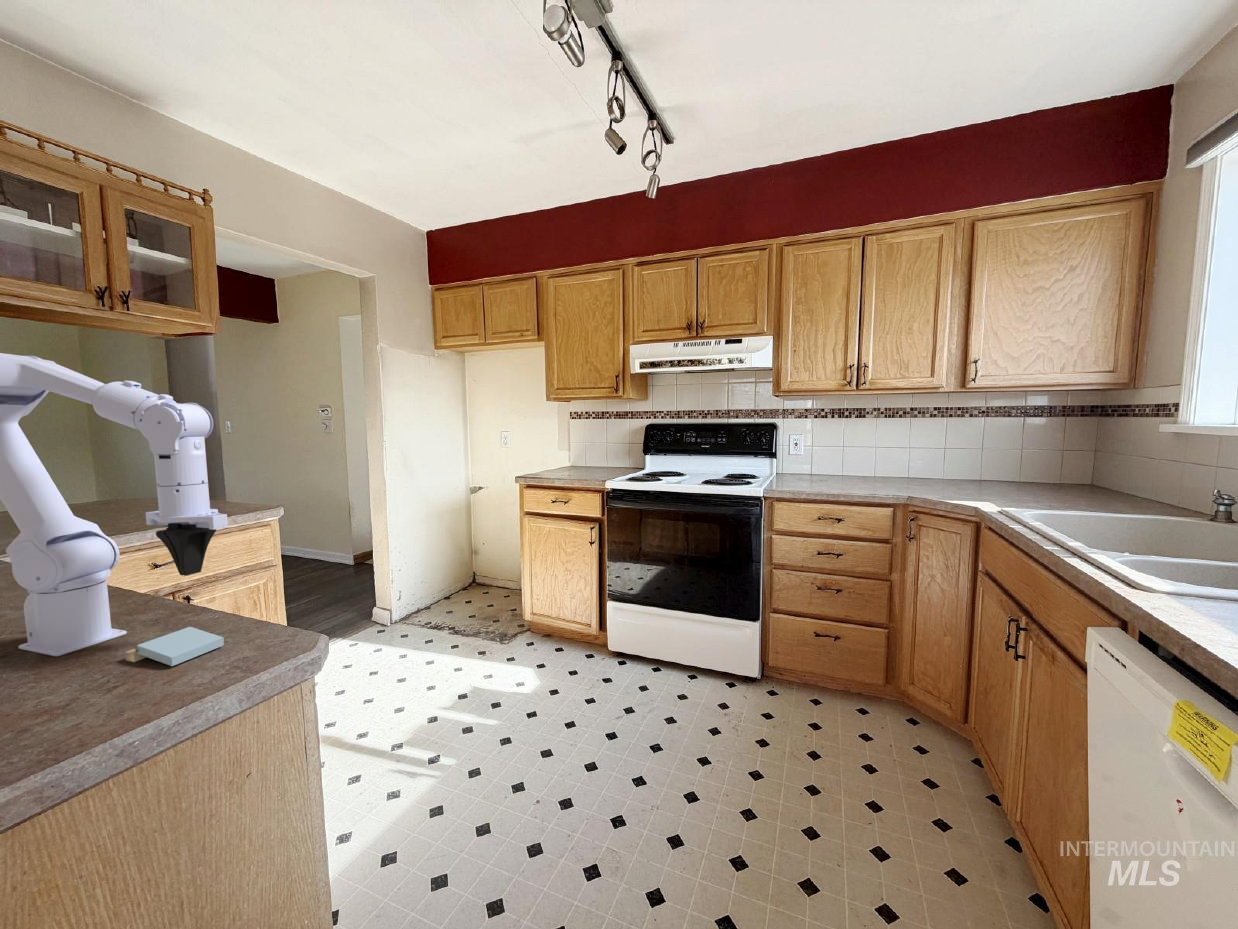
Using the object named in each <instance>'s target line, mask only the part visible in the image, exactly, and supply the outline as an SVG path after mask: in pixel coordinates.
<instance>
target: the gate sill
mask: <svg viewBox="0 0 1238 929" xmlns="http://www.w3.org/2000/svg"><path fill="white" fill-rule="evenodd" d="M124 656H125V661H127V662H132V663H136V662H138V661H141V660H143V659H146V658H148V657H145V656H142V655H140V654H137V652H136V651H135V648H133V649H130V650H127V651H125V652H124Z"/></svg>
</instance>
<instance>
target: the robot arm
mask: <svg viewBox="0 0 1238 929" xmlns="http://www.w3.org/2000/svg"><path fill="white" fill-rule="evenodd" d="M49 392H51V393H54V394H57V395H61V396H64V397H67V398H70V399H73V400H76V401H79V402H83V403H86V404H89V405H92V407H93V411H94V412H95V413H96V414H97V415H98V416H100V417H102V418H104V419H107V420H109V421H112V422H115V423H117V424H120V425H123V426H126V427H129V428H132V429H135V430H137V431H140V432H141V434H142V435H143V437H144V438H145V439H146V440H147V441H148V445H149V451H151V453H152V454H153V459H154V471H155V480H156V481H155V482H156V492H157V493H156V494H157V503H158V504H157V505H158V506H157V507H158V510H155V511H147V512H146V511H145V521H146V525H147V526H155V525H158V526H159V525H161V526H167V527H166V529H160V530H158V531H156V532H155V536H156V537H157V538H158V539H160V541H161V542H162V544H163V545H164V546H165V547H166V548H167V551H168V552H169V554H170V556H171V558H172V560H173V563H174V565H175V566H176V569H177V572H178V573H179V575H180V576H184V577H185V576H186V577H187V576H191V575H195V574H198V573H201V572H202V569H203V565H204V562H205V561H204V560H205V556H206V552H207V548H208V546H209V544H210V542H211V539H212V538H213V536H214V535H215V533H216V532H217V530H218V529H219V530H220V529H224V528H228V527H229V523H228V522H229V521H228V515H227V513H220V512H219V509H217V508H211V502H210V501H211V500H210V491H209V480H208V466H207V465H208V464H207V453H206V441H205V439H207V438H209V436H210V435H211V433H212V431H213V428H214V419H213V417H212V414H211V413H210V411H208V410H207V409H206V408H205V407H203V406H201V405H199V403H196V402H185V403H177V402H176V401H175V400H174V397H173V396H172V395H170V394H164V393H162V394H161V393H160V394H157V393H155V392H152V391H149V390H146V389H144V388H142V383H140V382H137V381H134V380H123V381H112V382H109V383H103V382H101V381H99V380H97V379H94V378H91V377H89V376H87V375H85V374H82V373H79V372H77V371H75V370H72V369H70V368H68V367H65V366H62V365H61V364H57V363H56V362H55V361H53V360H48V359H43V358H40V357H38V356H35V355H17V354H11V353H3V352H2V353H1V352H0V501H1V502H2V505H3V506H4V507H5V509H6V510H7V513H8V514H9V515H10V517H11V518H12V520H13V522H14V524H15V525H16V526H17V528H18V529H19V531H20V533H19V534H18V535H17V537H15V538H14V540H12V542H11V543H10V544H9V545H8V547H6V549H5V553H6V554H7V556H8V558H9V559H10V563H11V572H12V576H13V578H14V580H15V581H16V583H17V584H18V585H19V586H21V587H22V588H23V589H25V590H27V593H28V596H27V597H26V598H25V600H24V603H23V614H24V622H25V631H26V638H27V642H26V643H21V644H20V645H18V649H20V650H24V651H28V652H33V653H38V654H43V655H47V656H52V657H60V656H64V655H66V654H70V653H72V652H75V651H79V650H82V649H84V648H88V647H91V646H94V645H97V644H99V643H103V642H106V641H109V640H112V639H115V638H118V637H121V636H124V635H127V632H128V631H127V630H122V629H118V628H112V623H111V621H112V620H111V611H110V610H111V608H110V602H109V601H110V600H109V590H108V582H107V579H108V578H110V577H112V574H111V571H112V570H113V569H114V568H115V567H116V566H117V565H118V563H119V561H120V556H121V555H120V549H119V546H118V545H117V543H116V542H115V540H113V539H112V538H111V537H110V536H107V535H106V534H105V533H104V532H103V531H102V530H101V528H100V527H99V525H98V524H97V523H95V522H92V521H89V520H86V519H83V518H80V517H78V516H75V514H74V513H73V512H72V510H71V508H70V507H69V505H68V503H67V502H66V500H65V499H64V497H63V496H62V494H61V493H60V491H59V489H58V487H57V486H56V484H55V483H54V481H53V479H52V478H51V476H50V474H49V472H48V471H47V469H46V467H45V466H44V464H43V463H42V460H40V458H39V456H38V455H37V453H36V452H35V449H34V448H33V446H32V445H31V443H30V441H29V439H28V438H27V436H26V435H25V433H24V432H23V430H22V428H21V427H20V425H19V421H20V420H21V418H23V417H25V416H28V415H29V414H30V413H31V412H32V411H33V410H34V409H35V408H36V407H37V406H38V404H40V402H41V401H42V400H43V399H44V398H45V397H46V396H47V394H49Z"/></svg>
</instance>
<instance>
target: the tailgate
mask: <svg viewBox="0 0 1238 929" xmlns="http://www.w3.org/2000/svg"><path fill="white" fill-rule="evenodd" d="M224 639H225V638H224V637H223V636H220V635H217V634H214V633H211V632H208V631H205V630H202V629H198V628H195V627H193V626H188V627H186V628H185V627H184V628H182V629H179V630H177V631H173V632H170V633H167V634H165V635H163V636H158V637H156V638H154V639H150V640H147V641H145V642H142V643H140V644H137V645H136V646H135V648H134V649H135V651H136V652H137V654H140V655H142V656H145V657H147V658H148V659H151V660H154V661H157V662H159V663H162V664H165V665H168V666H170V667H173V666H176V665H179V664H181V663H184V662H186V661H188V660H192V659H194V658H196V657H199V656H202V655H203V654H206V653H208V652H211V651H213V650H216V649H219V648H220V647H223V646H224V645H225V640H224Z"/></svg>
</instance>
